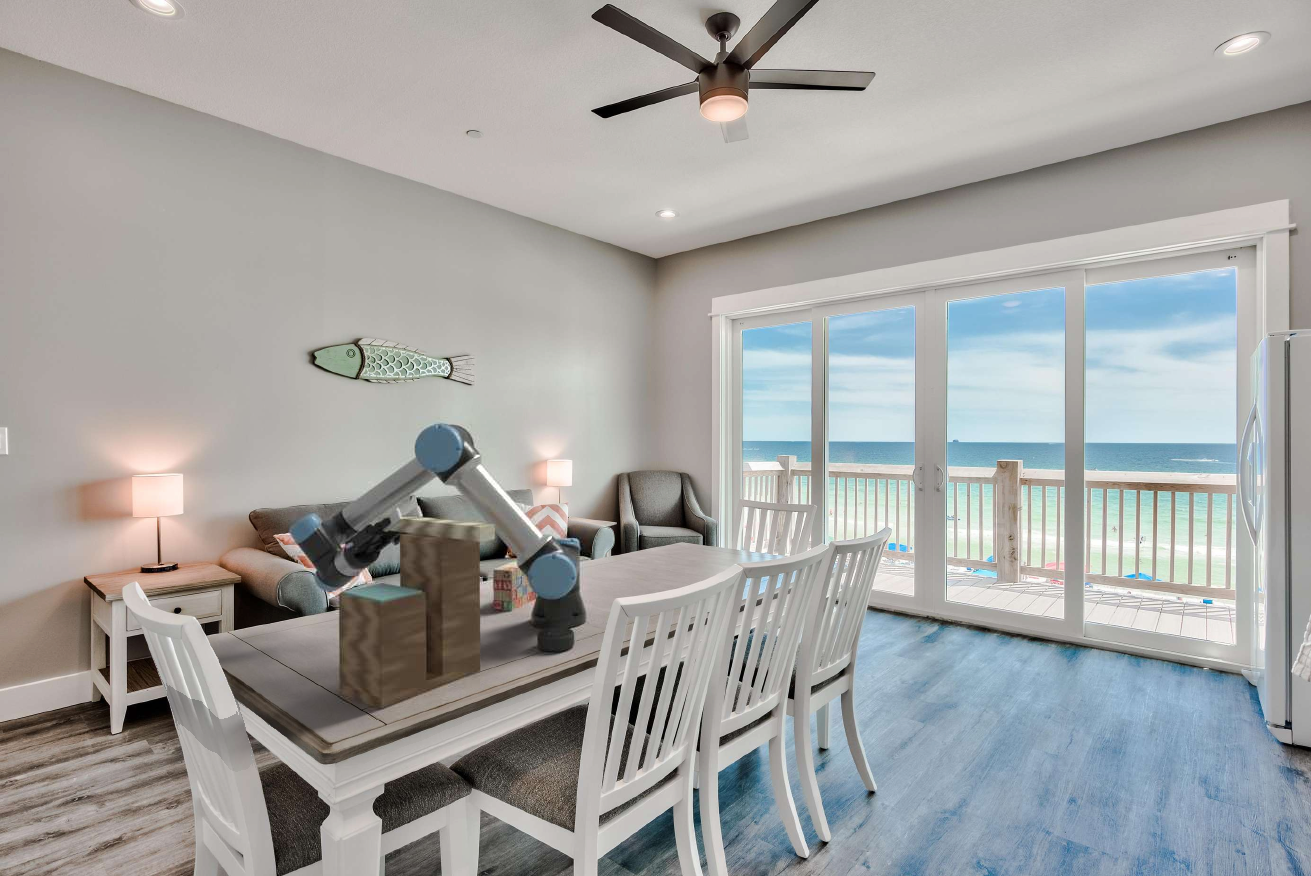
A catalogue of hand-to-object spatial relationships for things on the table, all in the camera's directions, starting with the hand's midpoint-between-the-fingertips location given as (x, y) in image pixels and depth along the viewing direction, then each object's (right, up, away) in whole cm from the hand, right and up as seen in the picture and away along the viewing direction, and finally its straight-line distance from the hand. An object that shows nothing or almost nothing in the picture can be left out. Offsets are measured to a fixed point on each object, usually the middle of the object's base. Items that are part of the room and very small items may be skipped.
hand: (409, 512), depth 149 cm
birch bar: (+7, -4, -5) cm, 9 cm away
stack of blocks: (+14, -34, +54) cm, 66 cm away
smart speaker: (+32, -34, +11) cm, 48 cm away
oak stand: (+5, -34, -11) cm, 36 cm away
